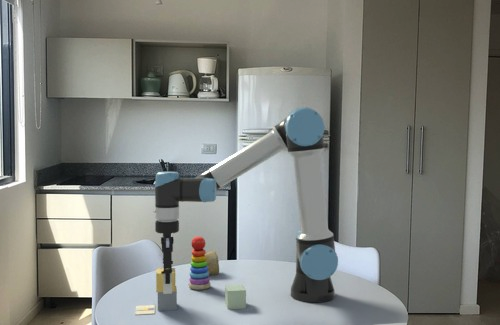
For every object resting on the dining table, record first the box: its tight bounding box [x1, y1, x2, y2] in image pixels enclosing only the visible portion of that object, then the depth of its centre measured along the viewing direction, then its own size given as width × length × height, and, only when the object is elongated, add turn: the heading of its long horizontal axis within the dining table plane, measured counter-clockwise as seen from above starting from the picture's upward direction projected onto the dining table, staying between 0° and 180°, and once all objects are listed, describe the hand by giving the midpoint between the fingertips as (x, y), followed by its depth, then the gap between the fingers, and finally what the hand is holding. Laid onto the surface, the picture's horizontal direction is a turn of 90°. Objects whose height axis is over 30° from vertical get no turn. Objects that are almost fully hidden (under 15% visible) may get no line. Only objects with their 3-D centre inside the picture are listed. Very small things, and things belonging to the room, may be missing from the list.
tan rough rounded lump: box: [205, 250, 220, 276], centre depth 210 cm, size 10×10×10 cm
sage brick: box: [224, 284, 247, 310], centre depth 172 cm, size 6×6×6 cm
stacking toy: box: [188, 236, 211, 291], centre depth 192 cm, size 8×8×19 cm
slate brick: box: [157, 285, 178, 311], centre depth 171 cm, size 6×6×6 cm
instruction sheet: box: [134, 304, 156, 316], centre depth 168 cm, size 6×8×1 cm
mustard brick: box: [155, 267, 176, 293], centre depth 170 cm, size 6×6×6 cm
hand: (167, 288), depth 170 cm, fingers open, 9 cm apart
